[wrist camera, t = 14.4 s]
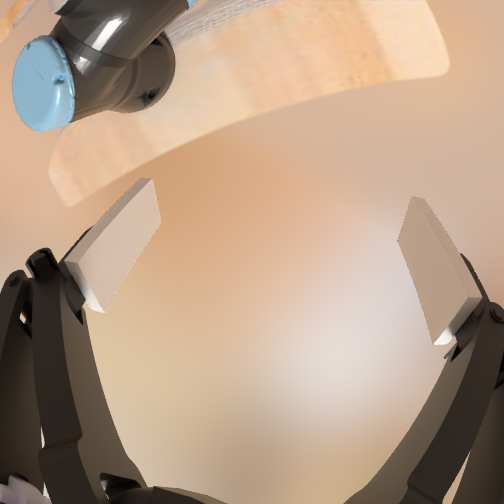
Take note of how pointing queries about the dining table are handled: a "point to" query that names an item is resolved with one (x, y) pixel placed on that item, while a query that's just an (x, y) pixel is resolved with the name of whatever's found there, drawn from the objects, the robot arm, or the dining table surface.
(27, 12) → the dining table surface
